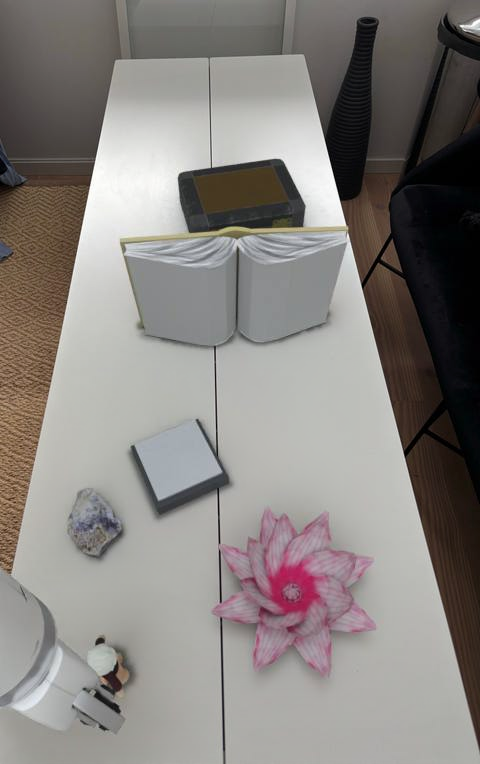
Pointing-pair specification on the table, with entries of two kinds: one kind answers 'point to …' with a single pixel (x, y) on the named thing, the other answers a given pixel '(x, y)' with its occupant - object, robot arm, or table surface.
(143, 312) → the book
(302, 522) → the table surface
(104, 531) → the mineral specimen
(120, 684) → the grandmother figurine
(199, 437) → the scale
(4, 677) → the robot arm
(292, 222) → the cash box
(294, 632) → the decorative flower
